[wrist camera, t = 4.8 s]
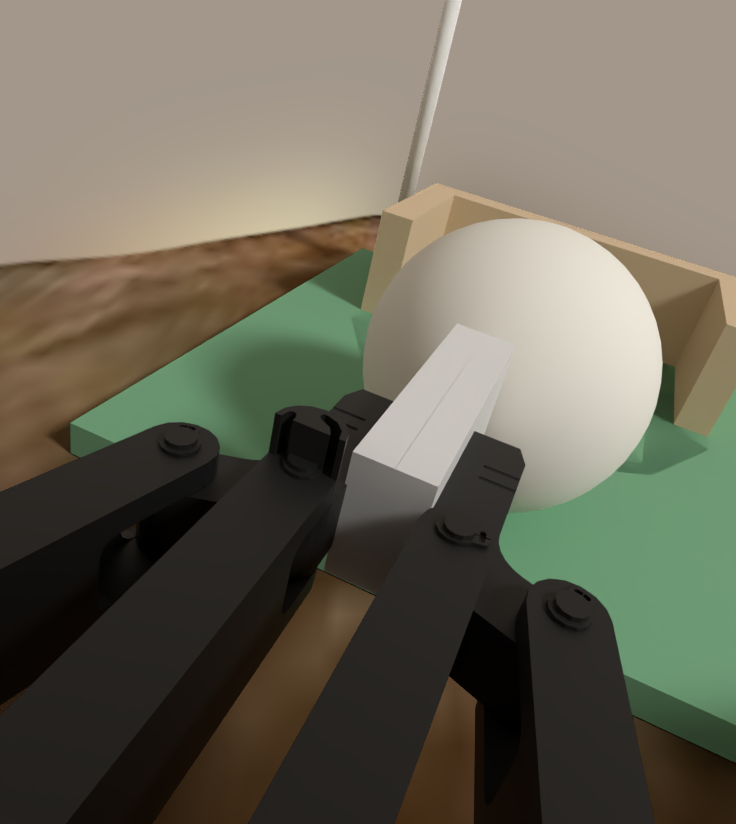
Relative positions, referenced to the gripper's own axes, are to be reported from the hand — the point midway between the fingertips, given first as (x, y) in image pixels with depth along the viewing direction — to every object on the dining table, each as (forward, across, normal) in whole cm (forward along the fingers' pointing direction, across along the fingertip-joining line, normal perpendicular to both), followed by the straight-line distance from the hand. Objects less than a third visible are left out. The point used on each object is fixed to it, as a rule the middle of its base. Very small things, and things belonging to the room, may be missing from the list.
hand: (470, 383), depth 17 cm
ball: (+5, 0, -1) cm, 5 cm away
